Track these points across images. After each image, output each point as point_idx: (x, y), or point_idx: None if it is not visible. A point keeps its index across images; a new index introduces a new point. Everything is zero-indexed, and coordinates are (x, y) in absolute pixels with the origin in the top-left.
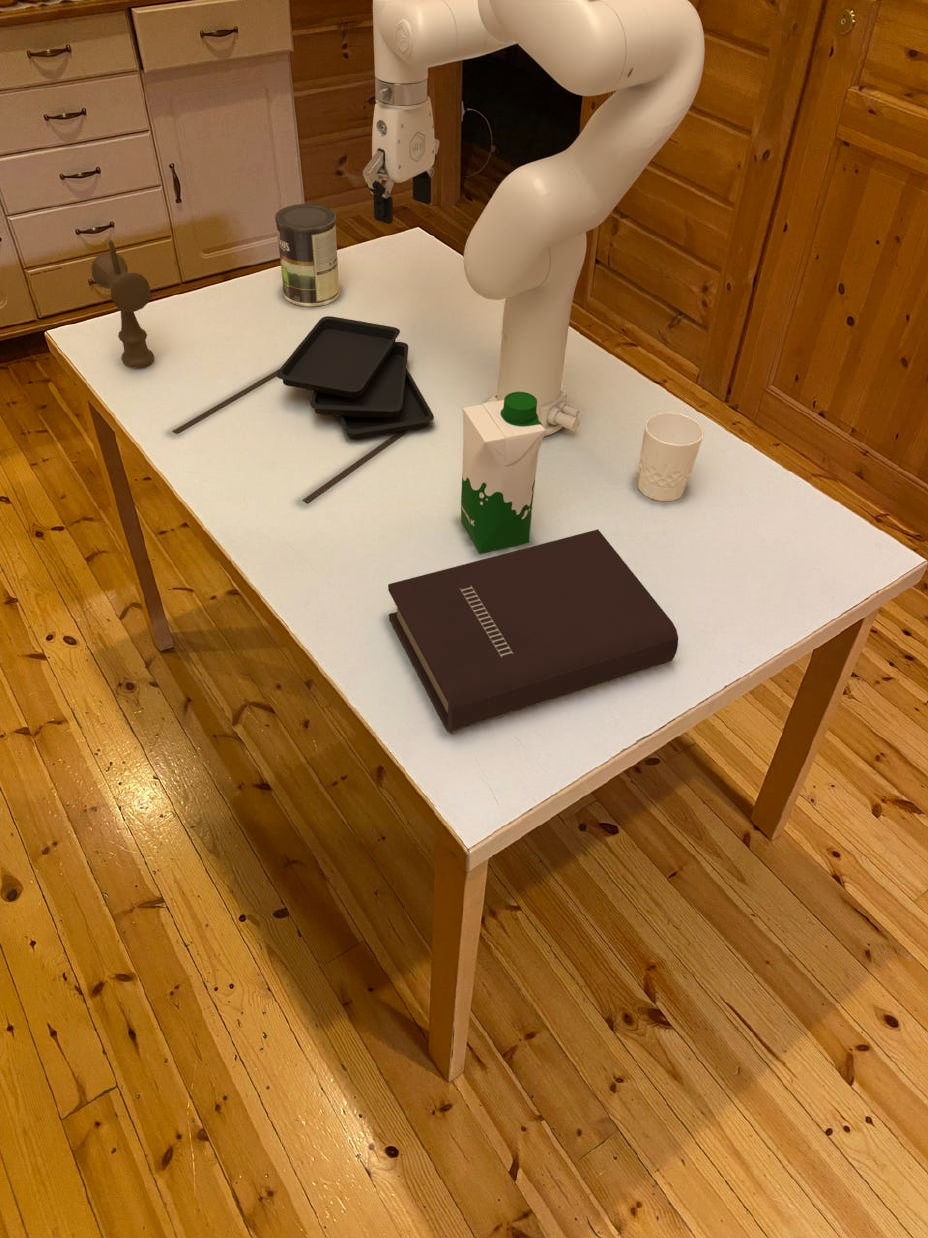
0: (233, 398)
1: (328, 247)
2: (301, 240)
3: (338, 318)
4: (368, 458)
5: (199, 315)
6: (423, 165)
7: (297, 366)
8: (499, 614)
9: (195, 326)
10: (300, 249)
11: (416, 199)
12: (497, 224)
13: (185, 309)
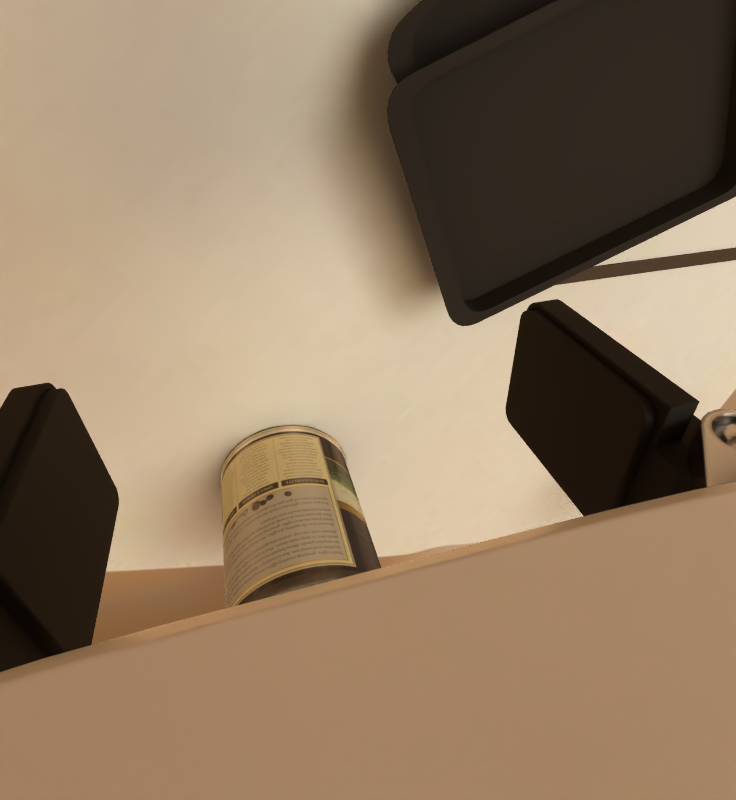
0: (689, 259)
1: (297, 528)
2: (372, 562)
3: (448, 294)
4: None
5: (479, 503)
6: (240, 747)
7: (640, 210)
8: None
9: (510, 481)
10: (369, 543)
11: (106, 477)
12: None
13: (476, 525)
